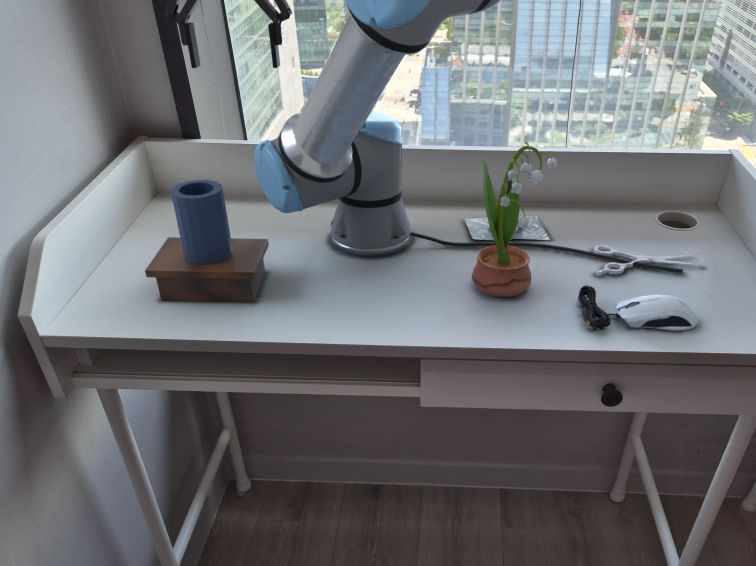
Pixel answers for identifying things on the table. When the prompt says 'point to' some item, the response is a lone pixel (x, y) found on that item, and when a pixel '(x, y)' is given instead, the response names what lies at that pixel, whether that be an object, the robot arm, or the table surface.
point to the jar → (202, 221)
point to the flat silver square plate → (534, 231)
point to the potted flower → (506, 233)
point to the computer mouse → (640, 312)
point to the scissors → (634, 257)
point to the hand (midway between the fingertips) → (236, 66)
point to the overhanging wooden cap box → (209, 273)
